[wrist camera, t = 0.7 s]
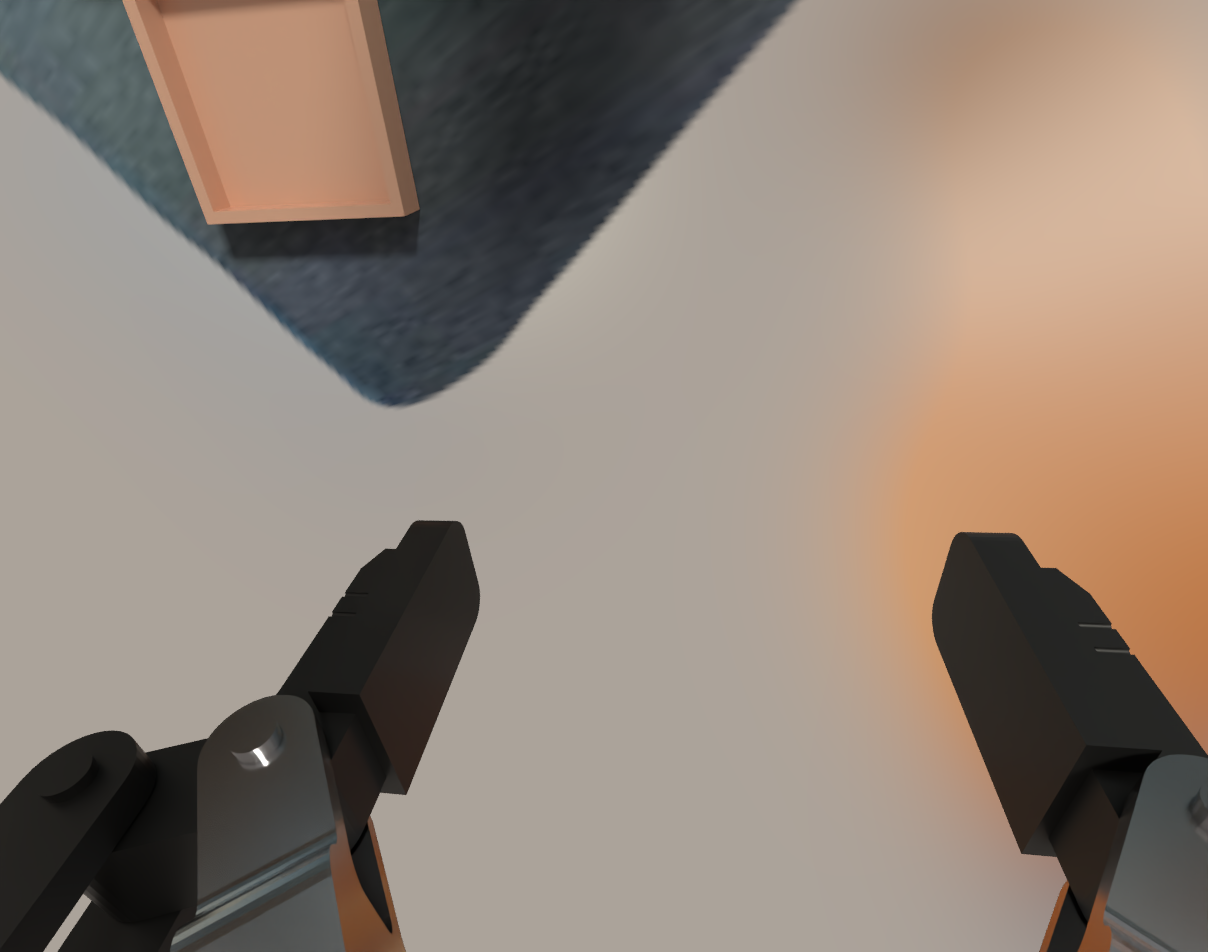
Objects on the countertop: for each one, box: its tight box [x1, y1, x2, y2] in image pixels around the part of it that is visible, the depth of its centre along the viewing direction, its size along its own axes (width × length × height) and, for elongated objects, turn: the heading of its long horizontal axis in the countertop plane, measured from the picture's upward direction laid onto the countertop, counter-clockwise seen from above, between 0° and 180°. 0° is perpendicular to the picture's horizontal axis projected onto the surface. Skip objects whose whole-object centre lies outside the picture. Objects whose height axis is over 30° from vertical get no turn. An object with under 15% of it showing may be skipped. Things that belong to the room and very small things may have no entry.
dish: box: [122, 0, 420, 224], centre depth 30 cm, size 11×11×2 cm
